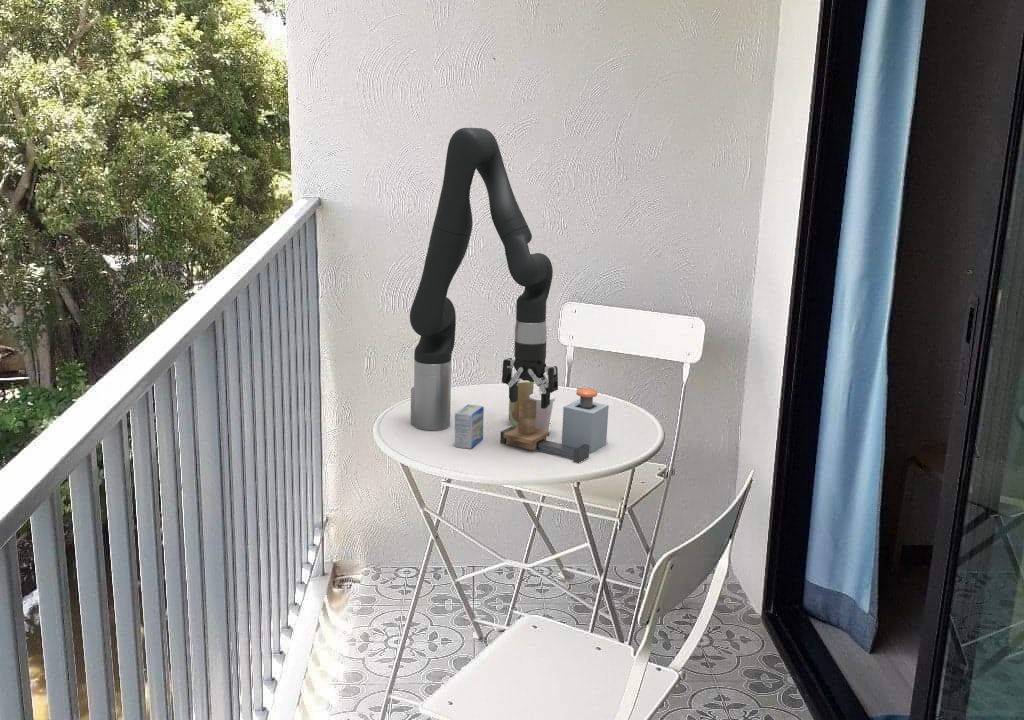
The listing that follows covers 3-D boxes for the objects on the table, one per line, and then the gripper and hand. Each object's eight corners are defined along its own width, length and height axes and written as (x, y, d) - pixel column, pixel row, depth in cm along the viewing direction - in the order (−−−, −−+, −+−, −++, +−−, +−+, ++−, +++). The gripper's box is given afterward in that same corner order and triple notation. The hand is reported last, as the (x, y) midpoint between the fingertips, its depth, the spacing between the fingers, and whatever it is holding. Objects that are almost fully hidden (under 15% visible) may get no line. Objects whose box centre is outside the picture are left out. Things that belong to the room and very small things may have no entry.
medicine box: (471, 449, 239) (471, 415, 236) (453, 447, 240) (454, 412, 238) (483, 439, 246) (484, 405, 244) (466, 436, 247) (467, 403, 245)
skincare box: (507, 420, 261) (509, 375, 257) (523, 419, 262) (525, 374, 259) (516, 428, 255) (518, 382, 251) (532, 426, 256) (534, 381, 253)
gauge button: (571, 418, 242) (572, 391, 240) (581, 413, 246) (582, 386, 244) (589, 422, 239) (591, 395, 237) (599, 417, 243) (601, 390, 241)
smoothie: (538, 427, 256) (540, 374, 252) (558, 433, 252) (560, 379, 249) (522, 433, 251) (524, 379, 248) (542, 439, 247) (545, 384, 244)
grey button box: (561, 446, 243) (563, 406, 240) (577, 437, 250) (579, 399, 247) (590, 453, 239) (592, 413, 236) (606, 444, 245) (608, 405, 243)
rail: (500, 443, 244) (500, 431, 243) (511, 437, 248) (511, 426, 247) (578, 463, 232) (579, 451, 232) (588, 457, 236) (589, 445, 236)
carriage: (503, 445, 241) (504, 401, 238) (521, 436, 248) (522, 394, 245) (531, 452, 237) (533, 408, 234) (548, 443, 244) (550, 400, 241)
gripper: (496, 337, 236) (495, 403, 240) (548, 346, 229) (546, 414, 233) (513, 331, 242) (512, 396, 247) (564, 340, 235) (562, 406, 239)
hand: (529, 404), depth 240 cm, fingers open, 8 cm apart
